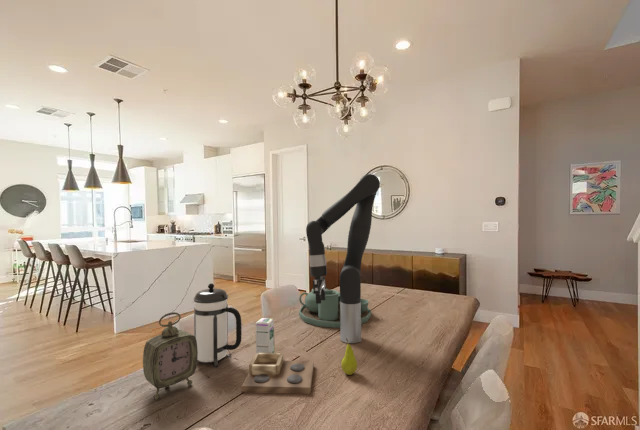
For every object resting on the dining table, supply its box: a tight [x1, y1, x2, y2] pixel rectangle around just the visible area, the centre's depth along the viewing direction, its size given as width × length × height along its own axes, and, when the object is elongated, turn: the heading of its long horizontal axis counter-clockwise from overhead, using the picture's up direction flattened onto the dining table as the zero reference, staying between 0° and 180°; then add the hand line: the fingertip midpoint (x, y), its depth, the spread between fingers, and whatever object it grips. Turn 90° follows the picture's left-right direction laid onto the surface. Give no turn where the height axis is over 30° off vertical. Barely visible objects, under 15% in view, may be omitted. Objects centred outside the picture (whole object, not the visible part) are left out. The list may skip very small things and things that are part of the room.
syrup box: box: [255, 317, 276, 354], centre depth 128 cm, size 6×6×14 cm
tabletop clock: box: [142, 311, 198, 400], centre depth 104 cm, size 14×9×25 cm, turn 139°
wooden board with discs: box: [241, 352, 315, 395], centre depth 111 cm, size 22×18×5 cm
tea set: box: [298, 287, 372, 329], centre depth 179 cm, size 40×40×16 cm
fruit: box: [340, 339, 358, 376], centre depth 114 cm, size 6×6×12 cm
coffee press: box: [192, 282, 243, 368], centre depth 125 cm, size 17×16×30 cm
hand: (321, 301), depth 142 cm, fingers open, 8 cm apart
